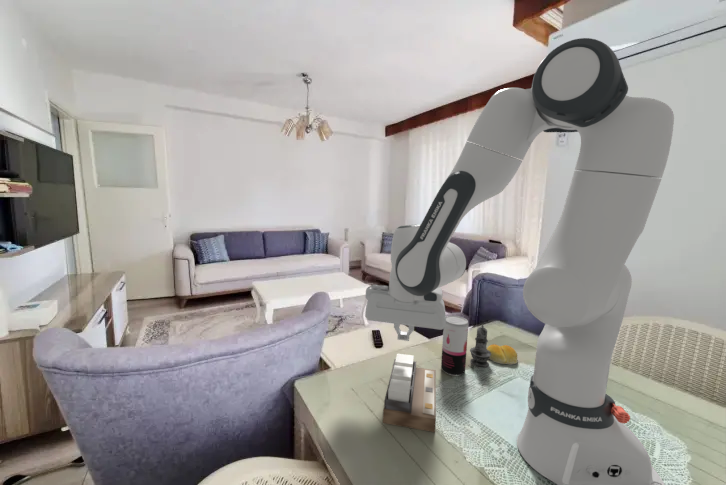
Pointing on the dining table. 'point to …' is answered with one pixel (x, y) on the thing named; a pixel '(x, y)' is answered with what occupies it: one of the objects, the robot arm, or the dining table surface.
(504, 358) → the bread roll
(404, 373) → the button middle
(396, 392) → the button near
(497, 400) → the dining table surface
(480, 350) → the grey tiered upright piece
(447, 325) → the beverage can
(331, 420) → the dining table surface
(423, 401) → the button board
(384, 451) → the dining table surface
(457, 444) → the dining table surface
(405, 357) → the button far
